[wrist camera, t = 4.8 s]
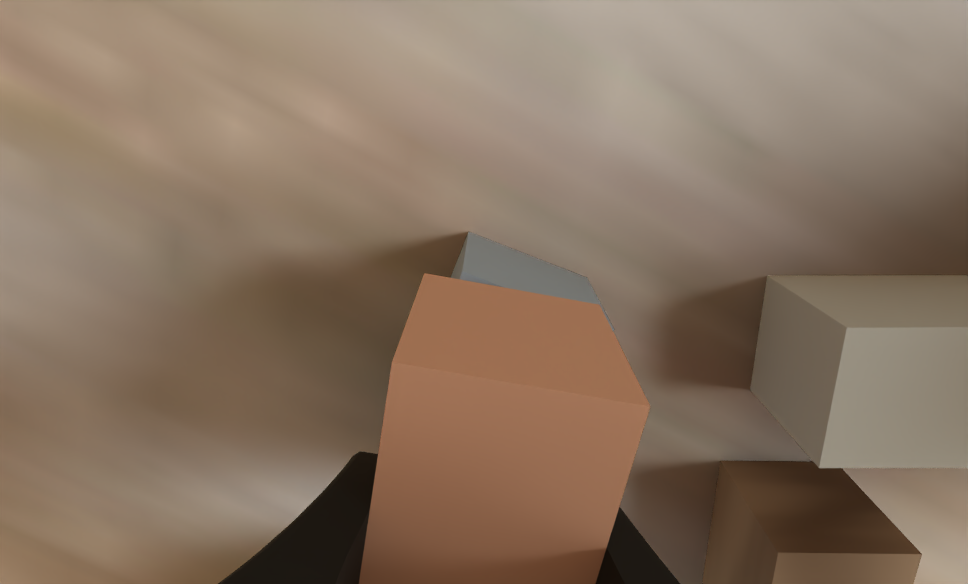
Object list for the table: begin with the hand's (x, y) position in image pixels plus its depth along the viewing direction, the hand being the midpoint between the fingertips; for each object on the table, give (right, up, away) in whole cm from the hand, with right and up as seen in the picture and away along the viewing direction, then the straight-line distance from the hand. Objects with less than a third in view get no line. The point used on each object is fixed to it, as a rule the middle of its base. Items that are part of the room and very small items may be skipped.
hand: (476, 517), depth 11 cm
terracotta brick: (0, +1, +2) cm, 2 cm away
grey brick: (+11, +3, +6) cm, 13 cm away
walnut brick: (+9, -4, +8) cm, 13 cm away
